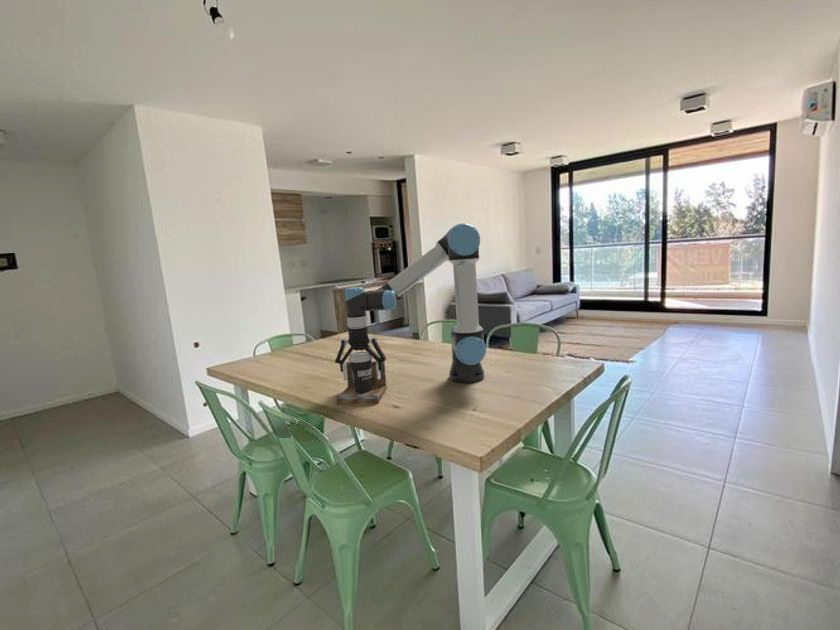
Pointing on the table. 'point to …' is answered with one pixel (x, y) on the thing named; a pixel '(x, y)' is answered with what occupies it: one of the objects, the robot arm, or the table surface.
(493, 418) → the table surface
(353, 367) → the coffee cup
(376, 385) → the shelf
